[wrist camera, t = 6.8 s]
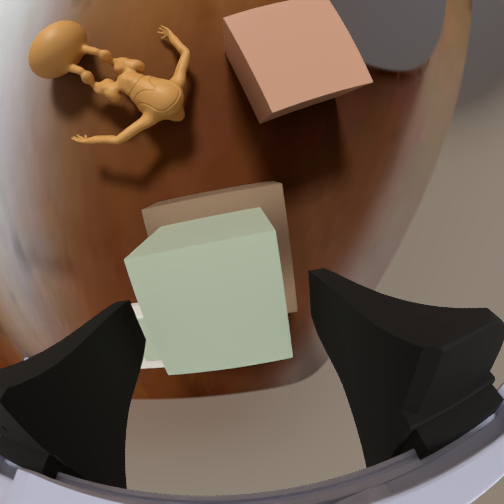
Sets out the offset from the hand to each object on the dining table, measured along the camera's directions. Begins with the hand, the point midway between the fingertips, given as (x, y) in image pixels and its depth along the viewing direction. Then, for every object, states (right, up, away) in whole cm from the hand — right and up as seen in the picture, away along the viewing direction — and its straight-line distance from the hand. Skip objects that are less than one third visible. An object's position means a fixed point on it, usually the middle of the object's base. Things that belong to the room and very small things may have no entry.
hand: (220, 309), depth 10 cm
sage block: (0, +2, +4) cm, 4 cm away
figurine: (-12, +15, -3) cm, 19 cm away
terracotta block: (+3, +13, +3) cm, 13 cm away
